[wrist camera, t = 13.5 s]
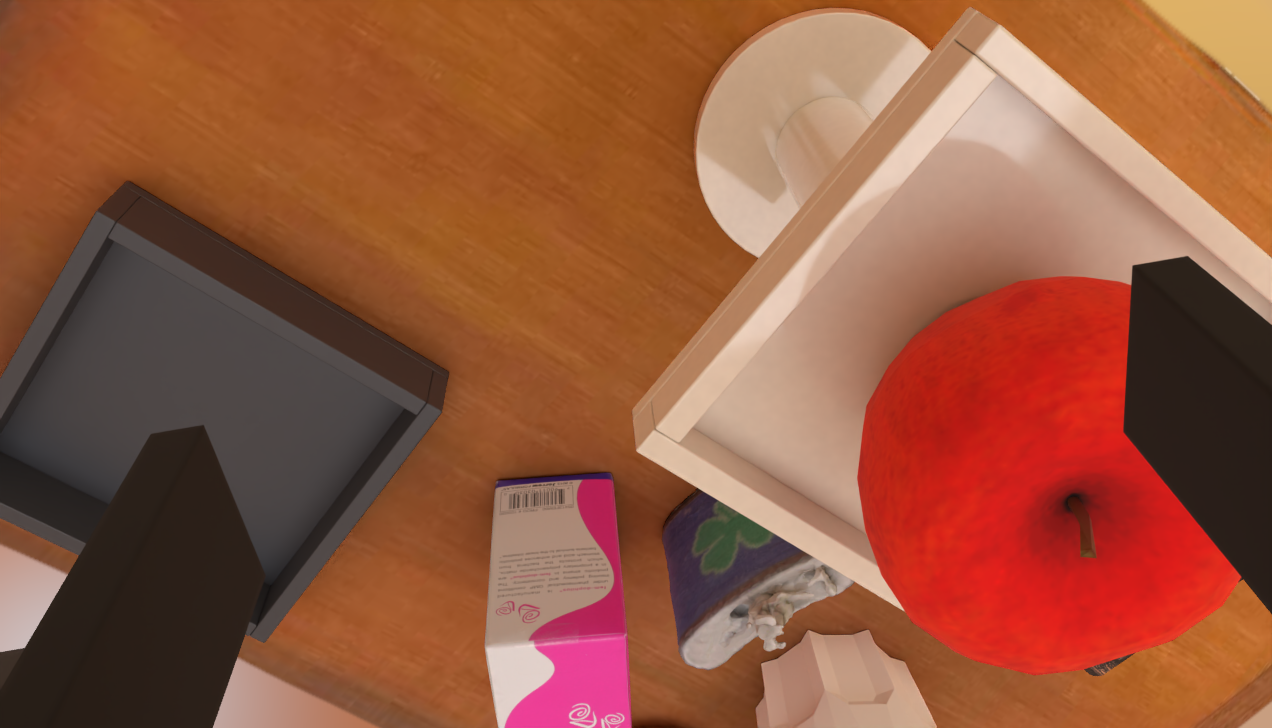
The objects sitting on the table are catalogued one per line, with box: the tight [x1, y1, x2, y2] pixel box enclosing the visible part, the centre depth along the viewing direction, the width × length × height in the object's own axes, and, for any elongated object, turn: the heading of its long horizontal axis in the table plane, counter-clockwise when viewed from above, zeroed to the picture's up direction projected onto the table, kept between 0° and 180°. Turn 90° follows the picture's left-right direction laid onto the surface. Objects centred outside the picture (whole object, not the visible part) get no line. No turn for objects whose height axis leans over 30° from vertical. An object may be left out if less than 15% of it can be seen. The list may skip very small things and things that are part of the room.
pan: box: [0, 181, 449, 643], centre depth 50 cm, size 16×16×4 cm
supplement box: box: [485, 473, 632, 728], centre depth 51 cm, size 6×6×12 cm
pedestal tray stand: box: [632, 7, 1272, 611], centre depth 38 cm, size 13×13×22 cm
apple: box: [857, 276, 1241, 675], centre depth 27 cm, size 9×9×8 cm
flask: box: [662, 489, 854, 670], centre depth 51 cm, size 9×3×11 cm, turn 128°
